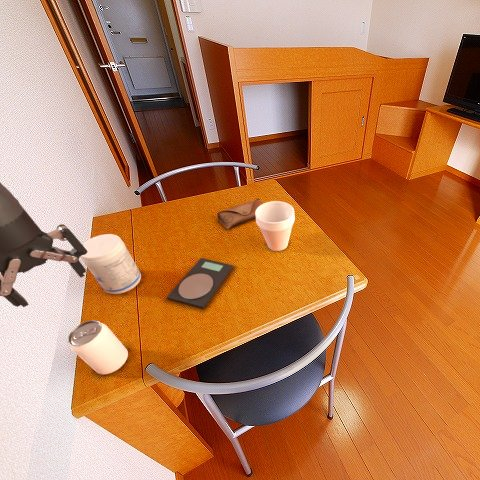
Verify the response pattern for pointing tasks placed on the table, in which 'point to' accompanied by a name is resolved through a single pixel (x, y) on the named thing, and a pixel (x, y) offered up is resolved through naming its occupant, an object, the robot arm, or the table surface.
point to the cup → (275, 223)
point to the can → (98, 347)
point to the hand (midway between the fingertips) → (54, 288)
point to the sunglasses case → (238, 214)
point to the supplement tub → (111, 263)
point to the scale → (200, 283)
